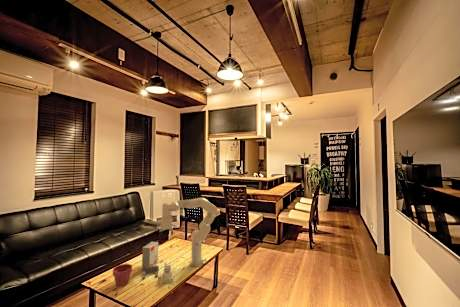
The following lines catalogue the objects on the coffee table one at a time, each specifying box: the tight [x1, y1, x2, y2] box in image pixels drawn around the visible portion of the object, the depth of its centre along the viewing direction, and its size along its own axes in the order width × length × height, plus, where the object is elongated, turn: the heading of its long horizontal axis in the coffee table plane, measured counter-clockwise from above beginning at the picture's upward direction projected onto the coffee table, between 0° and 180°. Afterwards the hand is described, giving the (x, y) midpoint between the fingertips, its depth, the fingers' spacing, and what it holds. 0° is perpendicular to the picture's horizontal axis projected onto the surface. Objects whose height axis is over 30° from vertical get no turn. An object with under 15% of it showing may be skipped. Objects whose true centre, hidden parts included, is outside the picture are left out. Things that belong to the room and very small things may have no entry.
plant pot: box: [112, 263, 133, 288], centre depth 178 cm, size 14×14×13 cm
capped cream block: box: [163, 264, 172, 278], centre depth 185 cm, size 6×8×8 cm
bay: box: [142, 265, 160, 280], centre depth 191 cm, size 11×11×5 cm
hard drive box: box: [141, 241, 159, 271], centre depth 207 cm, size 16×8×20 cm, turn 168°
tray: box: [160, 270, 174, 284], centre depth 185 cm, size 10×11×3 cm
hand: (166, 235), depth 204 cm, fingers open, 9 cm apart
